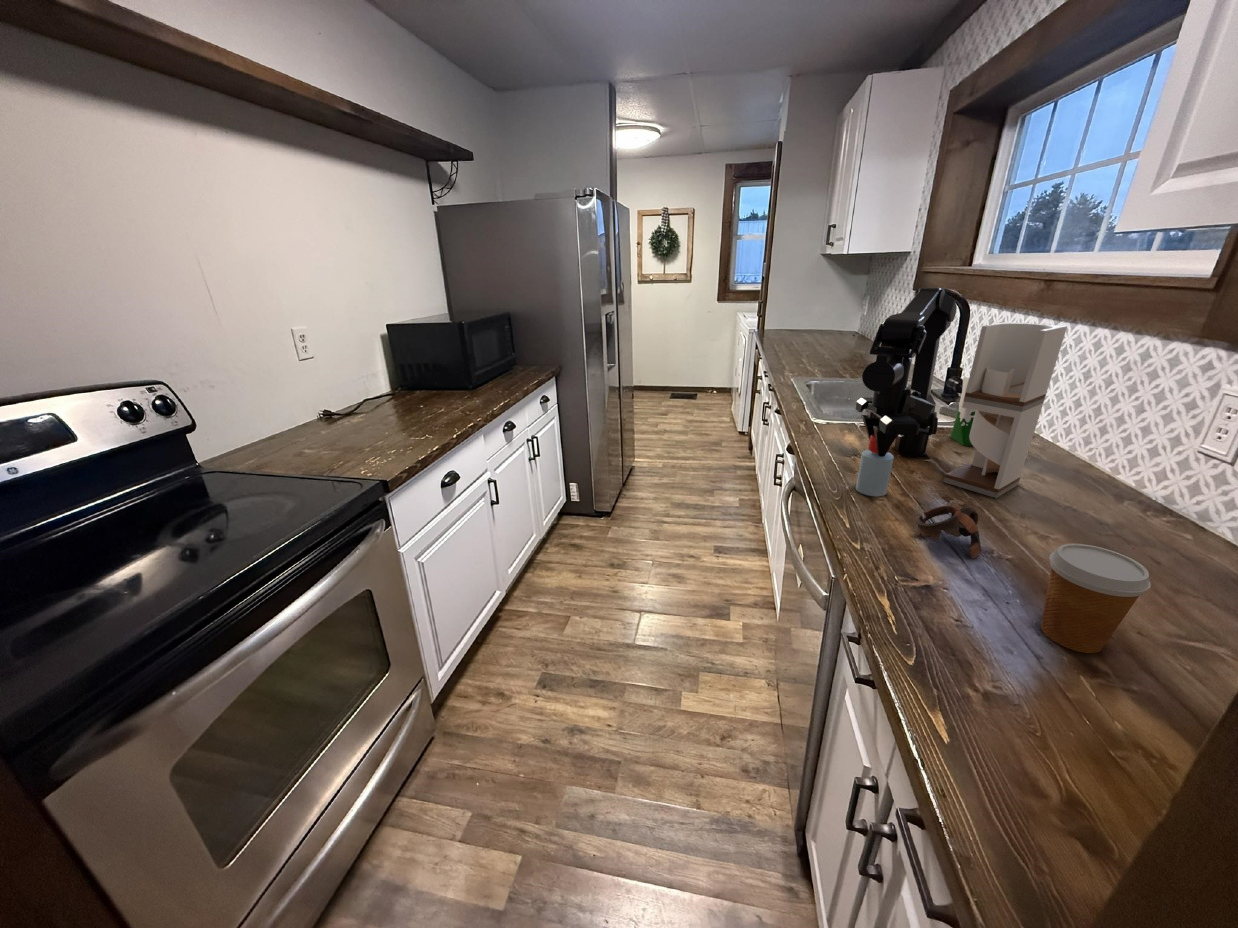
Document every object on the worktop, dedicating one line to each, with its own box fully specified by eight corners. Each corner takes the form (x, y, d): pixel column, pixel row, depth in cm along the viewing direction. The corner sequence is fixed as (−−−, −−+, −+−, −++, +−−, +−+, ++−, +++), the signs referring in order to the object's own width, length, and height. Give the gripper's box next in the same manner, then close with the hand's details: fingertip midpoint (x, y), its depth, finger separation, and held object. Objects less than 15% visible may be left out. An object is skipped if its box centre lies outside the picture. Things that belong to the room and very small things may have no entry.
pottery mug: (971, 569, 82) (951, 527, 82) (917, 566, 91) (899, 527, 90) (1004, 532, 87) (986, 492, 87) (950, 532, 96) (933, 495, 95)
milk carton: (961, 446, 135) (980, 374, 128) (944, 436, 144) (961, 367, 136) (995, 447, 135) (1016, 374, 127) (976, 436, 143) (995, 367, 135)
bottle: (881, 485, 113) (890, 435, 108) (890, 497, 107) (901, 445, 102) (852, 484, 114) (860, 434, 109) (860, 495, 108) (869, 444, 103)
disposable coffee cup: (1008, 616, 71) (1033, 543, 66) (1070, 611, 71) (1099, 539, 67) (1070, 665, 62) (1103, 586, 57) (1140, 659, 63) (1178, 580, 58)
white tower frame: (966, 470, 120) (1005, 322, 107) (1017, 485, 112) (1067, 326, 99) (943, 481, 114) (982, 326, 101) (996, 498, 106) (1045, 330, 93)
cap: (865, 446, 109) (868, 433, 108) (885, 447, 108) (887, 434, 107) (871, 453, 105) (874, 439, 104) (891, 453, 105) (894, 440, 103)
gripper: (957, 393, 91) (938, 470, 97) (913, 372, 109) (899, 439, 115) (893, 393, 93) (879, 469, 99) (860, 372, 110) (849, 438, 116)
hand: (878, 453), depth 107 cm, fingers closed on cap, 4 cm apart
